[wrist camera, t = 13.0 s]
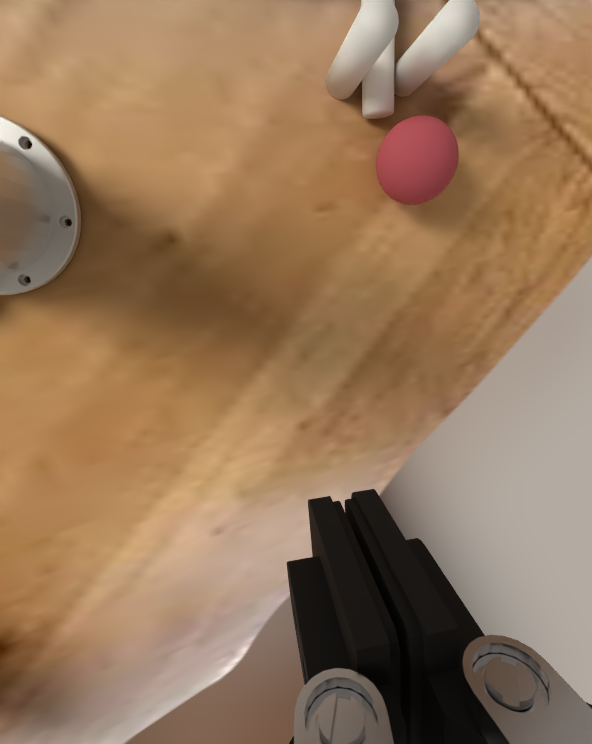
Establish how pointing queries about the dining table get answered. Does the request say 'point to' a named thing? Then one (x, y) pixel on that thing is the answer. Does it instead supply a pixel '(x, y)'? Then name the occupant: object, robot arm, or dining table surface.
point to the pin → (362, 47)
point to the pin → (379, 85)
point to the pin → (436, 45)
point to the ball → (417, 159)
